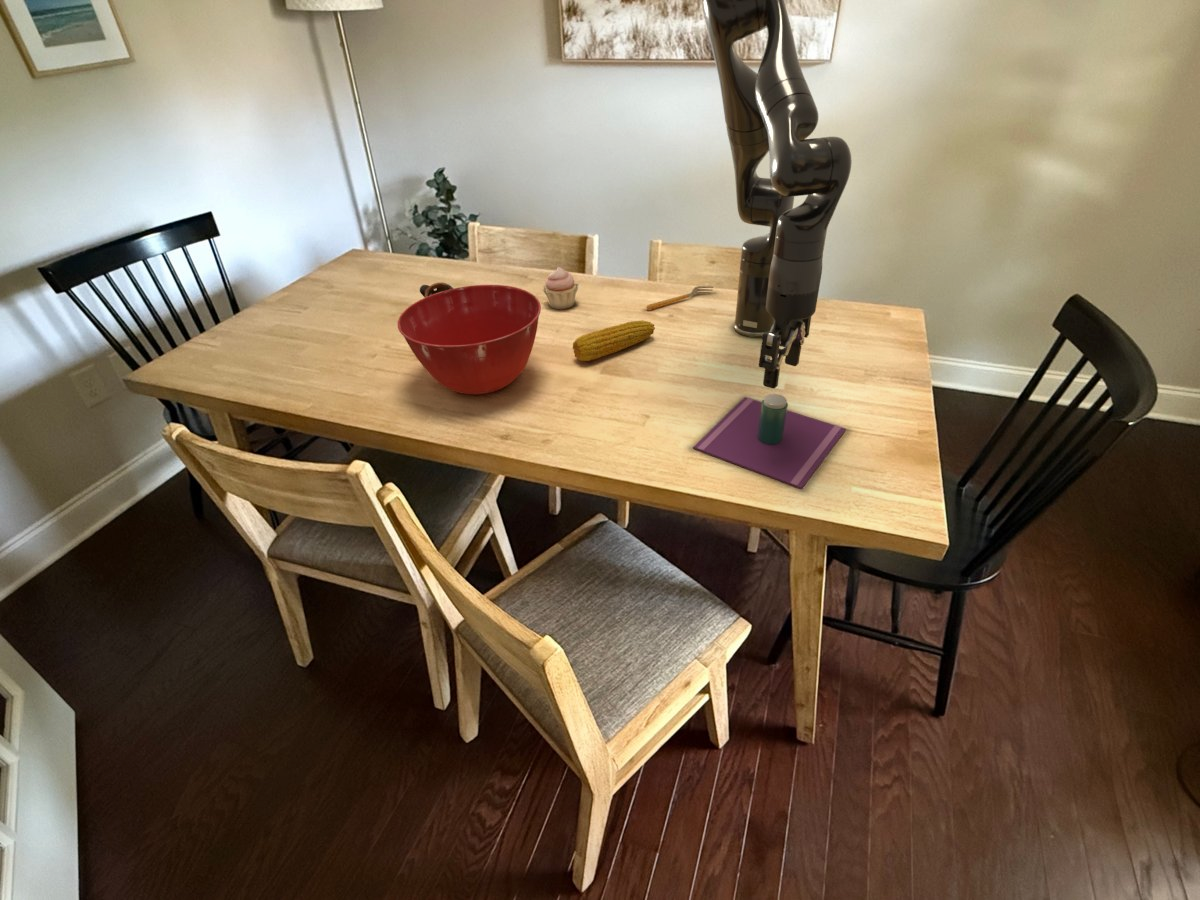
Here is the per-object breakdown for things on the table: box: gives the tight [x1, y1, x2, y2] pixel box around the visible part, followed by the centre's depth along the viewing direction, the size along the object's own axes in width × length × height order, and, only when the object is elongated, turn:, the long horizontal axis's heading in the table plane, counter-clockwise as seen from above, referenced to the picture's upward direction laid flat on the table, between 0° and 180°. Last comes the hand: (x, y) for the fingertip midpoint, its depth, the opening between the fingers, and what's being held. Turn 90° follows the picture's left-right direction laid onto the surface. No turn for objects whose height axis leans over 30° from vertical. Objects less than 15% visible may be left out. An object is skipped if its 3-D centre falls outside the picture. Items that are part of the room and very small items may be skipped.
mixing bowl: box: [397, 284, 542, 396], centre depth 132 cm, size 28×28×15 cm
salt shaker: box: [757, 393, 789, 445], centre depth 112 cm, size 4×4×8 cm
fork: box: [645, 285, 714, 311], centre depth 164 cm, size 2×2×20 cm
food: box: [572, 319, 656, 362], centre depth 143 cm, size 21×6×6 cm, turn 126°
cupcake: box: [542, 266, 579, 310], centre depth 163 cm, size 9×9×10 cm
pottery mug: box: [419, 282, 454, 298], centre depth 165 cm, size 12×10×8 cm
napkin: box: [692, 396, 847, 490], centre depth 114 cm, size 20×20×1 cm
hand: (780, 375), depth 107 cm, fingers open, 8 cm apart
